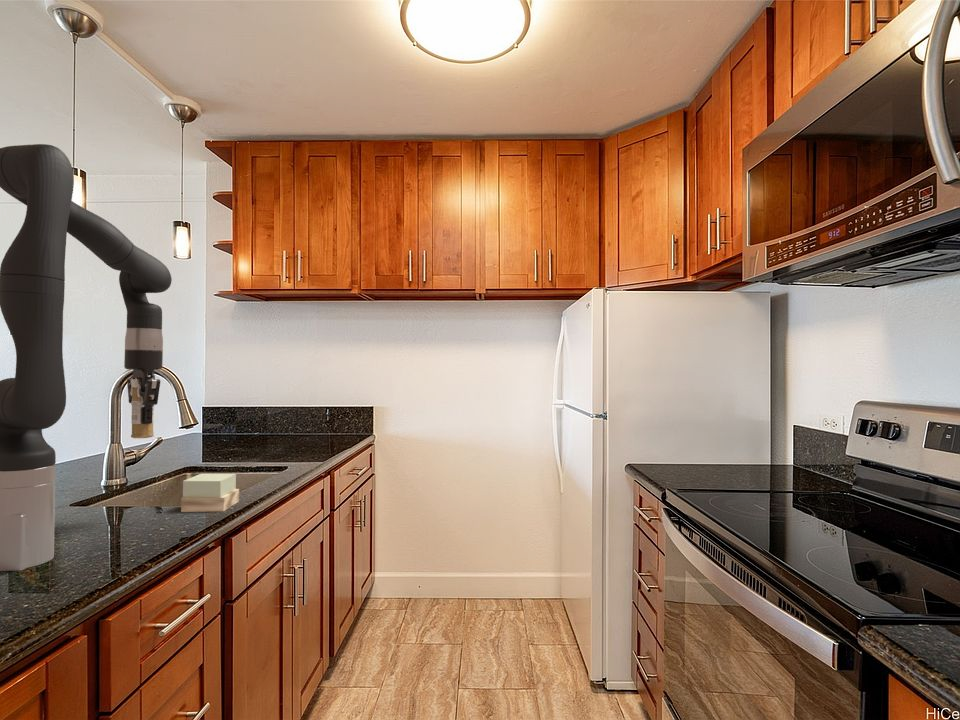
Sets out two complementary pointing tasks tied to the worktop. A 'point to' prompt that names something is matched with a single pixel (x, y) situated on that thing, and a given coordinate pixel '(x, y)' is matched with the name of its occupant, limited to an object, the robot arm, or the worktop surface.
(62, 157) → the robot arm
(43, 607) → the worktop surface
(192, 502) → the tower base
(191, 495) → the tower top
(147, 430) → the sprinkles bottle
